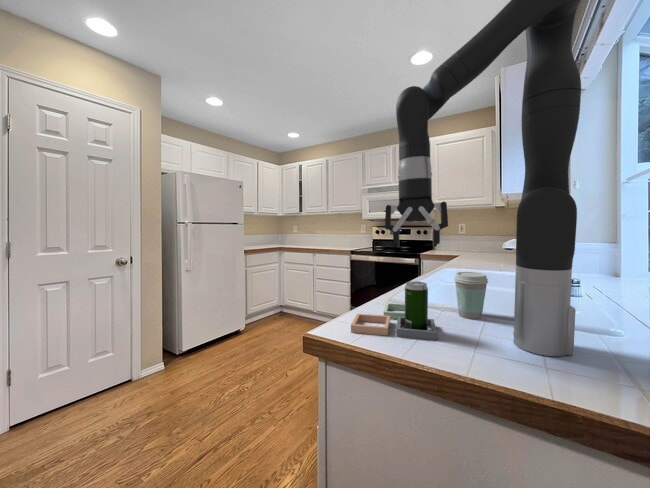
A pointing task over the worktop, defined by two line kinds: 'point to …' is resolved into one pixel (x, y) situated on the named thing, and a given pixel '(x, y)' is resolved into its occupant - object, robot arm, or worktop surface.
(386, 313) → the sage frame
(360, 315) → the terracotta frame
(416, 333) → the charcoal frame
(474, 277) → the coffee cup
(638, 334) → the worktop surface
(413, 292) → the beer can
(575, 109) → the robot arm
